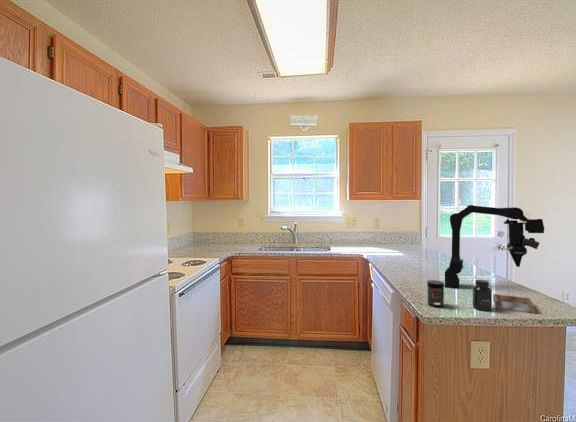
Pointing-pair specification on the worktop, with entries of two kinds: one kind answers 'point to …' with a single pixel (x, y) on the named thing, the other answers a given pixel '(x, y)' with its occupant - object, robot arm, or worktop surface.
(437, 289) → the supplement container
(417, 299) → the worktop surface
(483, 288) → the supplement bottle
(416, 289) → the worktop surface
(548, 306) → the worktop surface
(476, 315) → the worktop surface
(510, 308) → the bay
